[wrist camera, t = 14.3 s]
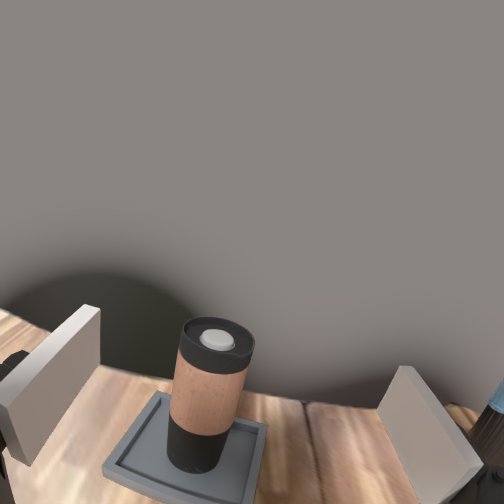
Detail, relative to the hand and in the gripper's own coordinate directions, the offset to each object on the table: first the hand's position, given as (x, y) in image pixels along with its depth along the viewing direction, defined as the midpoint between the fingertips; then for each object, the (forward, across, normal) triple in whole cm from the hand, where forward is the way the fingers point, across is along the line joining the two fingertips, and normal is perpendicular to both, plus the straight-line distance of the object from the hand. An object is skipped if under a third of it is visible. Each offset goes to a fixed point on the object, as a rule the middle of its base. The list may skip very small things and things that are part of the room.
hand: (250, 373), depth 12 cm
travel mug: (+17, -2, -28) cm, 33 cm away
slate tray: (+17, -2, -29) cm, 34 cm away
